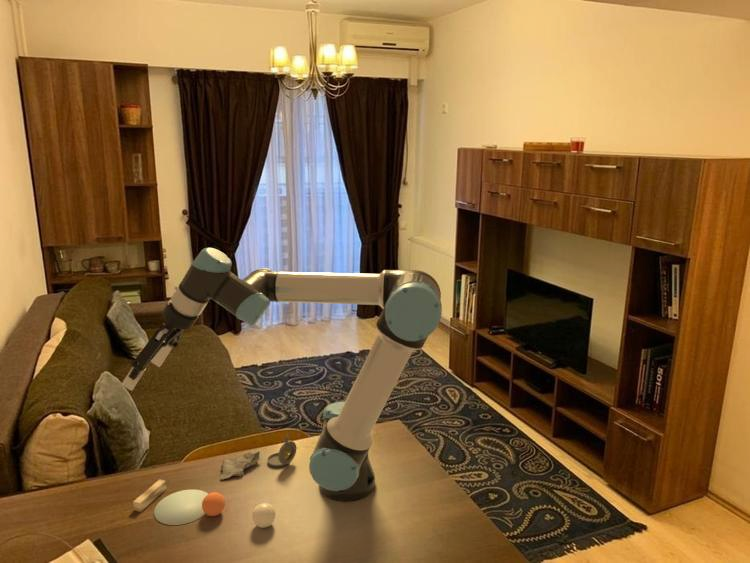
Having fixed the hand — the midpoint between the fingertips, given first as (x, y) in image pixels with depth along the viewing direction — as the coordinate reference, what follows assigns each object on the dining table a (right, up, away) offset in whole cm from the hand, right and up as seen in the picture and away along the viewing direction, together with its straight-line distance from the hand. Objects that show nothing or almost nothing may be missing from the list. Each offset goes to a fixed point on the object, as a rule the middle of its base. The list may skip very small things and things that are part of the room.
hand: (141, 374), depth 134 cm
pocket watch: (+29, -30, +27) cm, 50 cm away
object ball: (+16, -33, +4) cm, 37 cm away
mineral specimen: (+18, -31, +23) cm, 43 cm away
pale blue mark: (+7, -35, +7) cm, 36 cm away
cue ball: (+29, -34, 0) cm, 45 cm away
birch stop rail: (-2, -34, +10) cm, 36 cm away
